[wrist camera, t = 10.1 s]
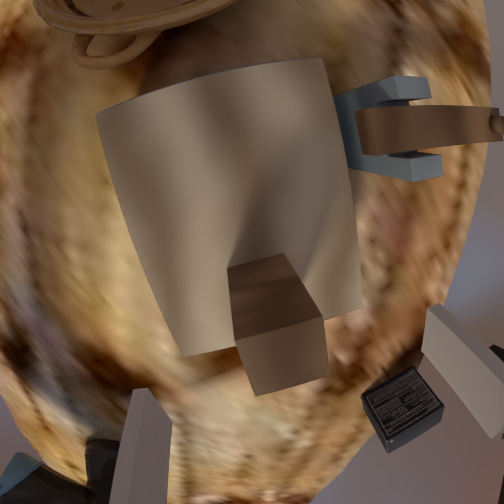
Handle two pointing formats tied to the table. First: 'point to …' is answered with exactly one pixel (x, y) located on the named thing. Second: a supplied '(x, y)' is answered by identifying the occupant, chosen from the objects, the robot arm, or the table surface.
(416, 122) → the latch
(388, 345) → the table surface
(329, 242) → the board with wooden block
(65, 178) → the table surface
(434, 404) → the small box
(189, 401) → the table surface
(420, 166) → the toolbox
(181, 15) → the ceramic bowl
